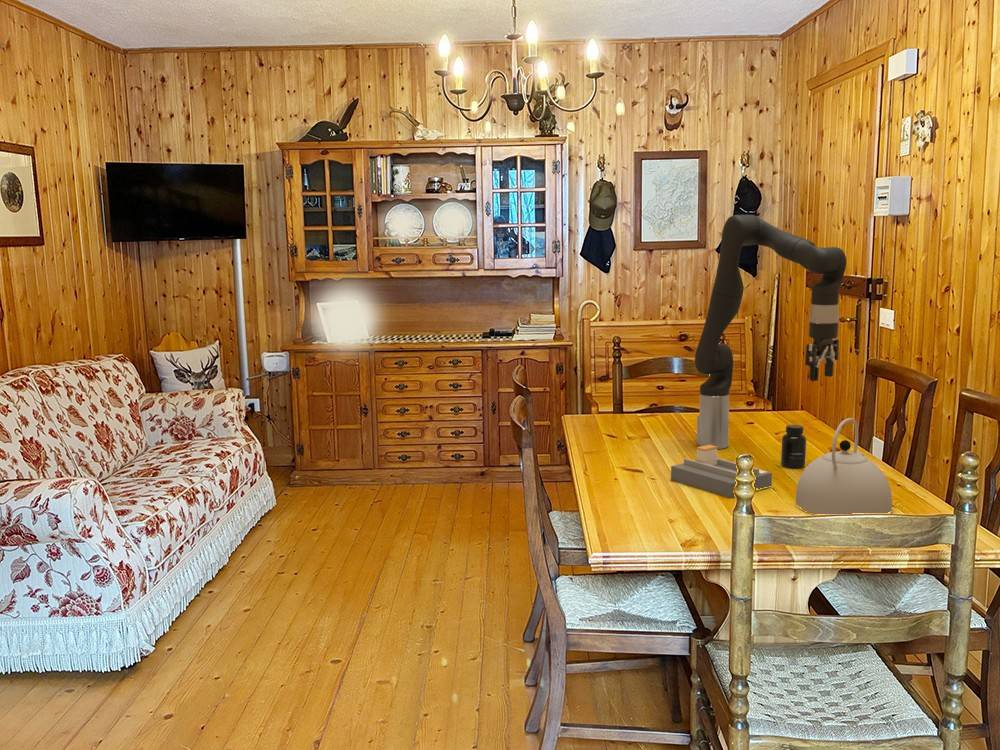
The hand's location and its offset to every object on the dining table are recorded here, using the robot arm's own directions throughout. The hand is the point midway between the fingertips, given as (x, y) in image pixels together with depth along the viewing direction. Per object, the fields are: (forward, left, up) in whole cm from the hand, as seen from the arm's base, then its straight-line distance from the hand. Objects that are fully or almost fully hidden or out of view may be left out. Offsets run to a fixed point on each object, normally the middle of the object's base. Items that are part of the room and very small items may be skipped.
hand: (821, 378), depth 241 cm
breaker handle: (-17, -27, -24) cm, 40 cm away
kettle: (+21, -17, -28) cm, 39 cm away
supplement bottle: (-11, +3, -28) cm, 30 cm away
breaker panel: (-12, -27, -28) cm, 41 cm away
